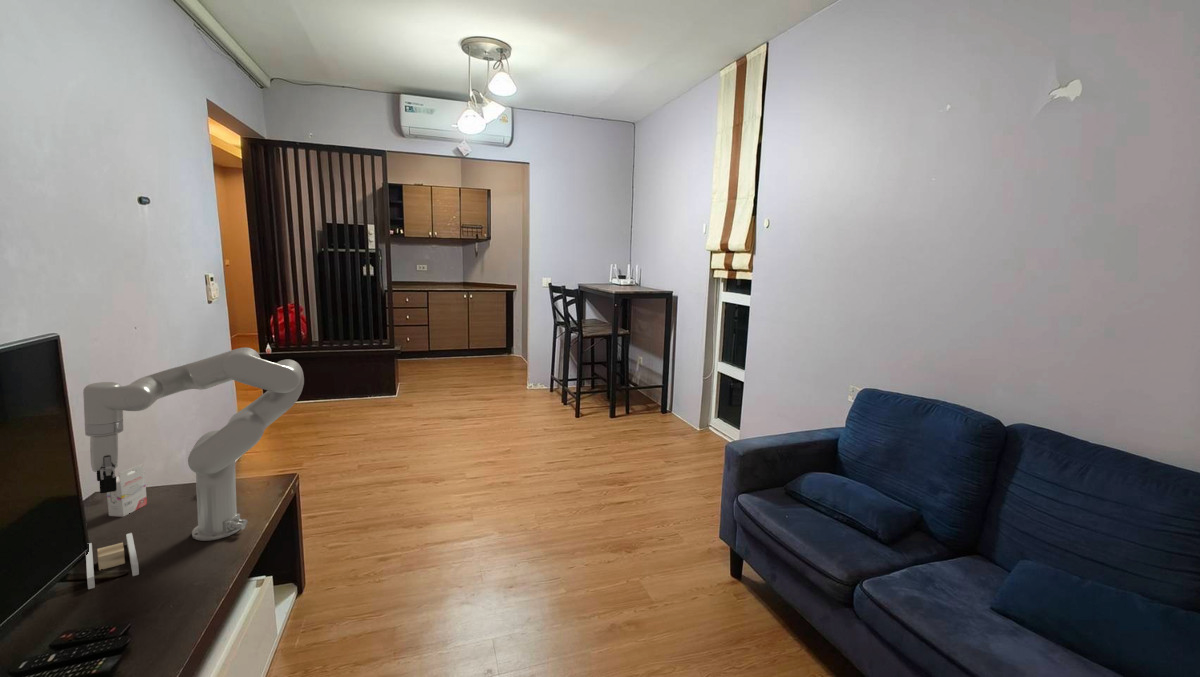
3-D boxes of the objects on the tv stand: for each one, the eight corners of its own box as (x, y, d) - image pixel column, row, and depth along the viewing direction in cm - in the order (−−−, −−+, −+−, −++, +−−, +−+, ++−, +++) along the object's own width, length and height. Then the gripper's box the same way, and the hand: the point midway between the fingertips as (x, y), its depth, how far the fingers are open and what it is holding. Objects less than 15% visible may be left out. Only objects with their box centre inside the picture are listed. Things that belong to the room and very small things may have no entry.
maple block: (98, 562, 135) (97, 548, 134) (123, 555, 138) (122, 542, 138) (99, 570, 131) (97, 557, 131) (125, 563, 135) (124, 550, 134)
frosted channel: (86, 554, 137) (85, 544, 137) (132, 542, 144) (131, 532, 144) (88, 589, 124) (87, 578, 123) (139, 574, 131) (138, 564, 130)
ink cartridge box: (133, 503, 165) (130, 461, 163) (147, 504, 165) (145, 462, 163) (107, 516, 157) (103, 472, 154) (122, 517, 157) (119, 473, 154)
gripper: (82, 421, 139) (85, 478, 141) (87, 438, 128) (89, 500, 130) (119, 417, 145) (121, 472, 147) (127, 433, 133) (128, 493, 136)
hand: (106, 485), depth 138 cm, fingers open, 9 cm apart
